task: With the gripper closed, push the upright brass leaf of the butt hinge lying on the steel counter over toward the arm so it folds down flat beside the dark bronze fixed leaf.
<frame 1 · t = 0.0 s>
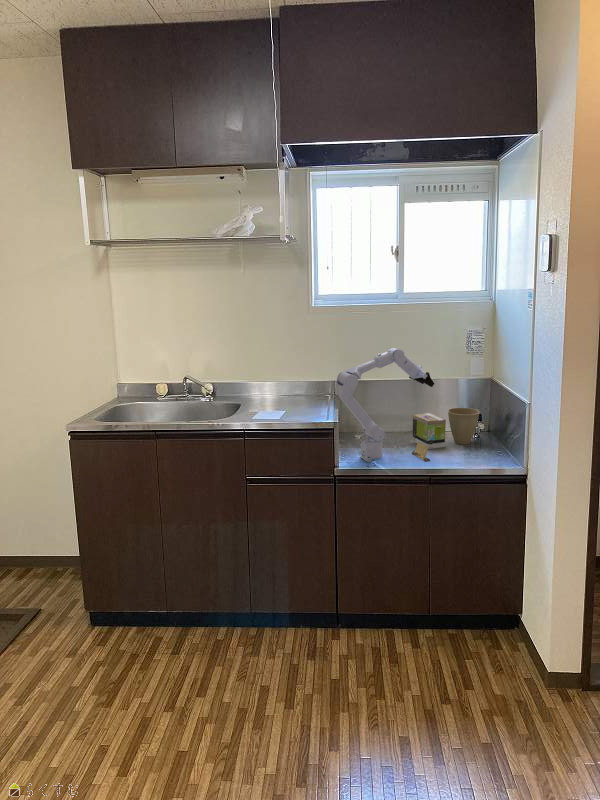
hand: (428, 383, 280), 32 cm above the countertop, tool tilted 50°, fingers open, 7 cm apart
hinge base: (420, 459, 275), on the countertop
plant pot: (462, 442, 298), on the countertop
tea box: (428, 446, 294), on the countertop
loose leaf: (422, 451, 274), point 4 cm above the countertop, hinge at 105.0°
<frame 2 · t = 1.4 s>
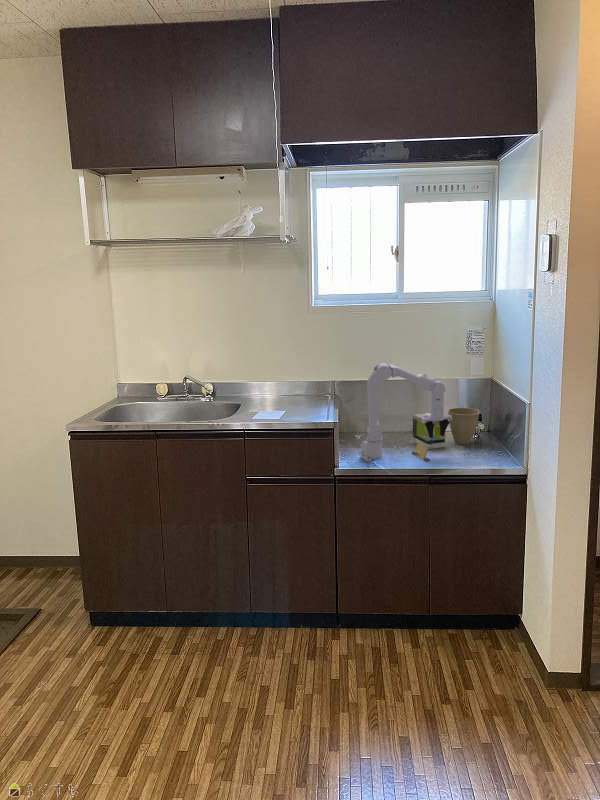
hand: (436, 436, 275), 10 cm above the countertop, tool pointing down, fingers open, 5 cm apart
nothing on the countertop moved.
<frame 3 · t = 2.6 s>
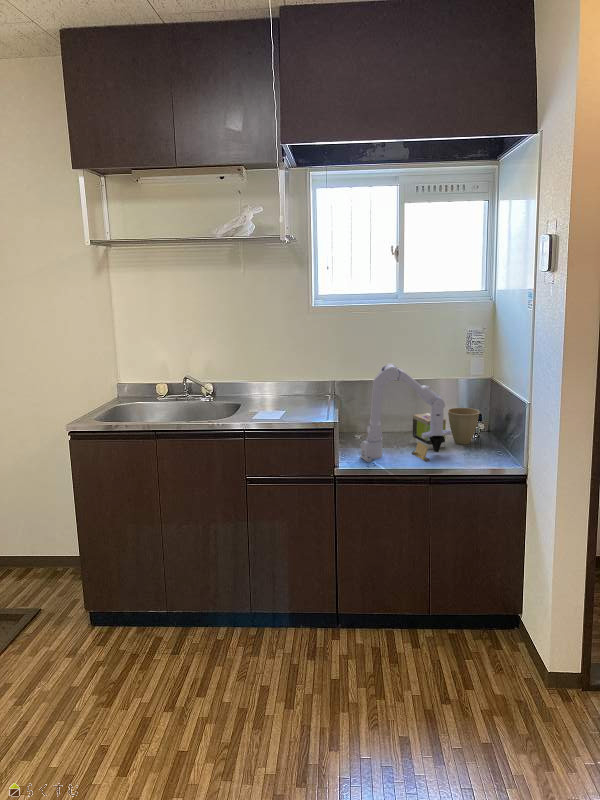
hand: (436, 451, 277), 3 cm above the countertop, tool pointing down, fingers closed
nothing on the countertop moved.
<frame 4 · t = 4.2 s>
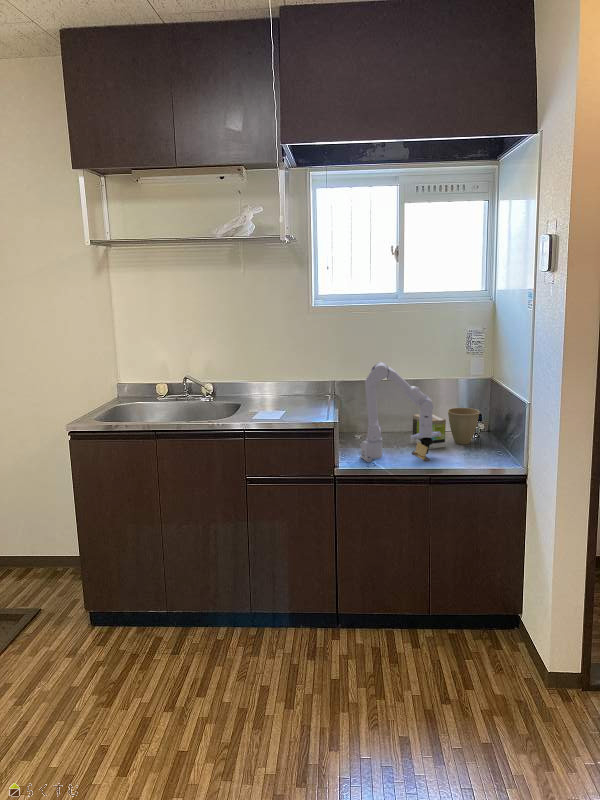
hand: (425, 453, 275), 3 cm above the countertop, tool pointing down, fingers closed
loose leaf: (421, 451, 274), point 4 cm above the countertop, hinge at 103.3°, touching gripper
everything else where it was.
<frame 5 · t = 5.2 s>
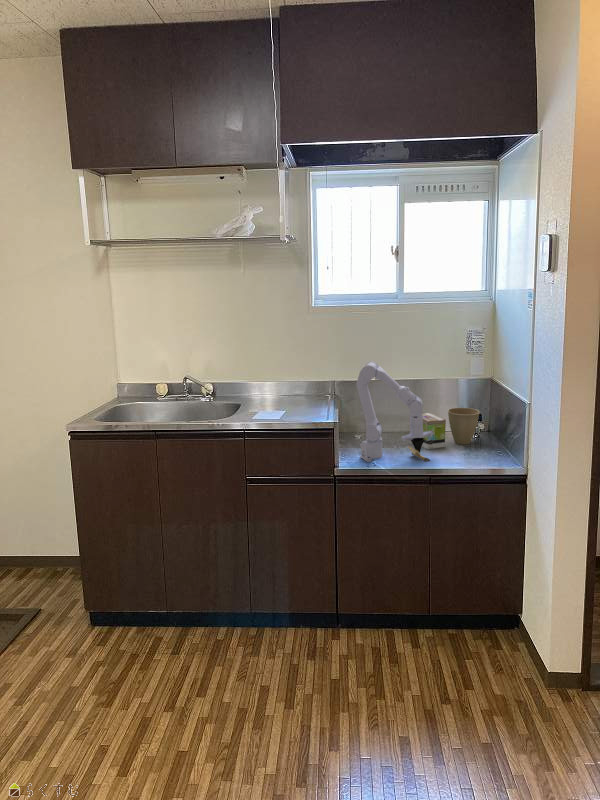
hand: (417, 453, 273), 3 cm above the countertop, tool pointing down, fingers closed, pressing on loose leaf
loose leaf: (417, 453, 274), point 3 cm above the countertop, hinge at 53.0°, touching gripper
everything else where it was.
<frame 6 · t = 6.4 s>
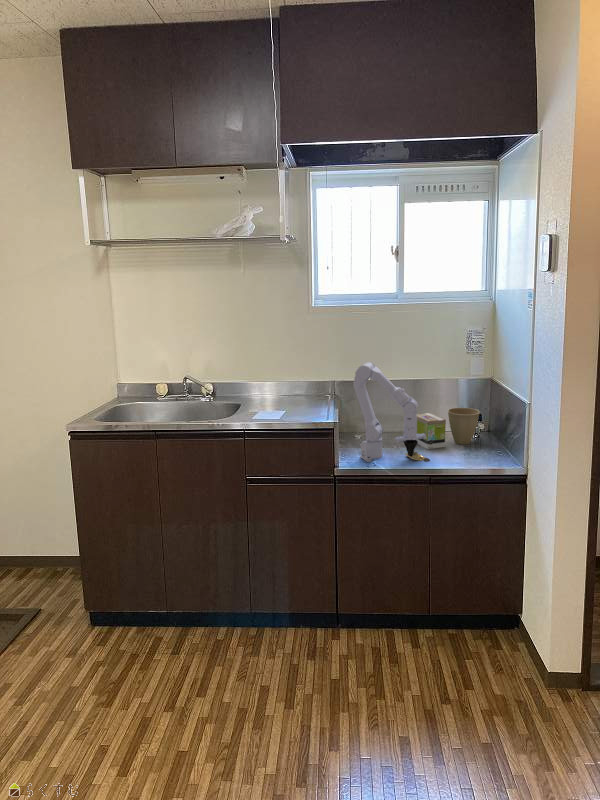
hand: (410, 455, 272), 3 cm above the countertop, tool pointing down, fingers closed, pressing on loose leaf
loose leaf: (415, 456, 274), point 2 cm above the countertop, hinge at 17.7°, touching gripper
everything else where it was.
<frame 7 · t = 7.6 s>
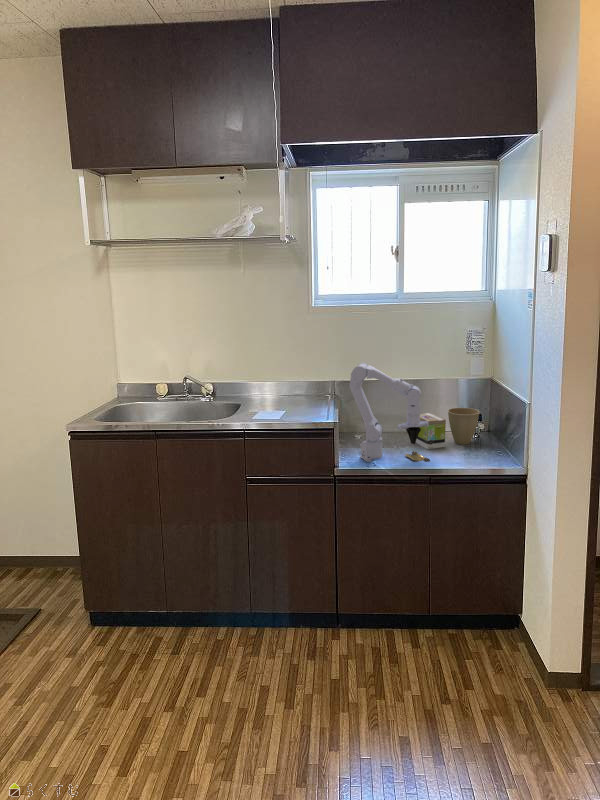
hand: (412, 443, 272), 8 cm above the countertop, tool pointing down, fingers closed
loose leaf: (415, 456, 274), point 2 cm above the countertop, hinge at 15.2°
everything else where it was.
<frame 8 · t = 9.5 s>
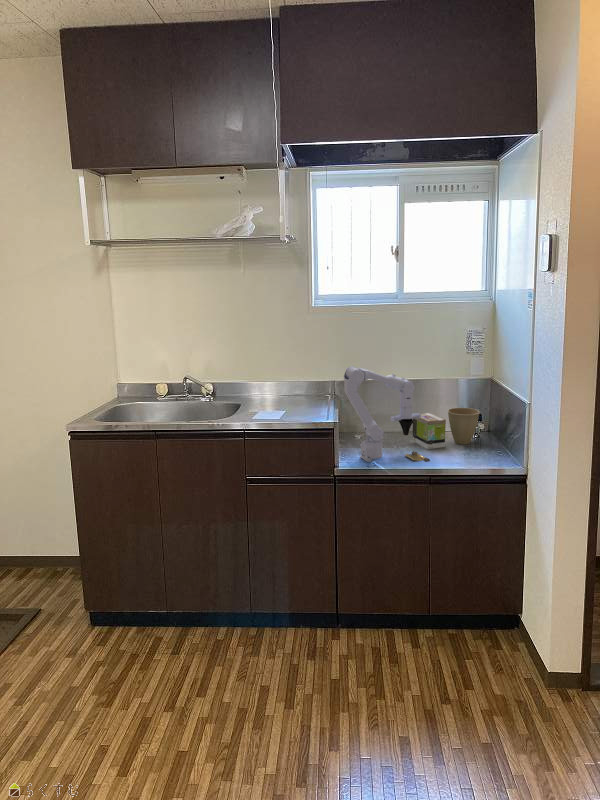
hand: (405, 434, 279), 10 cm above the countertop, tool pointing down, fingers closed
nothing on the countertop moved.
at the end: loose leaf at +15° (first picture: +105°) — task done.
